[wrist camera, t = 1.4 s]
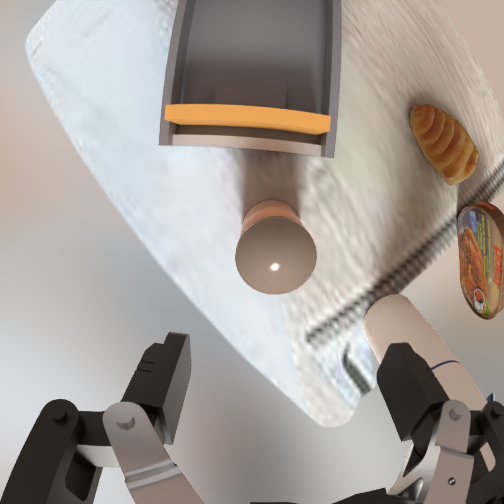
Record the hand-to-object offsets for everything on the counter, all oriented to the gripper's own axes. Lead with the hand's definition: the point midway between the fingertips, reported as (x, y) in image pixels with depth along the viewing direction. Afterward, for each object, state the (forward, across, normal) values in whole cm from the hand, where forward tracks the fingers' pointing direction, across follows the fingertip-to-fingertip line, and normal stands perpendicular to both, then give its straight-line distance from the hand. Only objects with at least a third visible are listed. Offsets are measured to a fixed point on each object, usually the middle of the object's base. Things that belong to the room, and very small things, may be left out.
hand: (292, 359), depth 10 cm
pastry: (+19, -18, -12) cm, 28 cm away
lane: (+18, +3, -18) cm, 26 cm away
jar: (+18, 0, 0) cm, 18 cm away
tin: (+19, -26, 0) cm, 32 cm away
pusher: (+18, +3, -12) cm, 21 cm away
